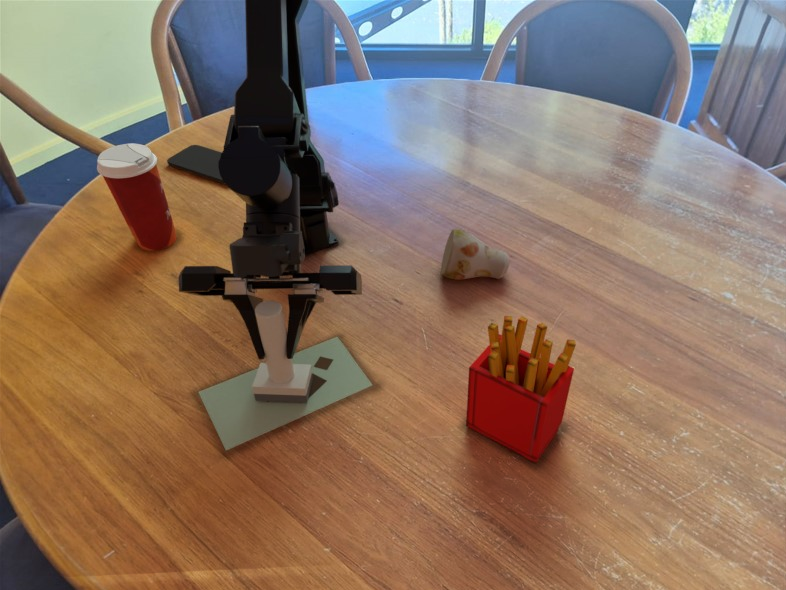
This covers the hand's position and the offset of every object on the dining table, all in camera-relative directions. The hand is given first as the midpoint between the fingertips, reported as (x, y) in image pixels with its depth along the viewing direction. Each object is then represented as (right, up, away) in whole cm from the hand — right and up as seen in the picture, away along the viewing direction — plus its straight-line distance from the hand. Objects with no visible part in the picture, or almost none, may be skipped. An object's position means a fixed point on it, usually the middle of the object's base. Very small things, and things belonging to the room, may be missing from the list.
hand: (275, 359), depth 69 cm
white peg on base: (0, -4, +5) cm, 6 cm away
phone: (-24, +34, +41) cm, 58 cm away
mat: (0, -4, +6) cm, 7 cm away
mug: (+22, +12, +23) cm, 34 cm away
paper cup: (-26, +18, +26) cm, 41 cm away
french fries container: (+27, -8, +3) cm, 28 cm away
